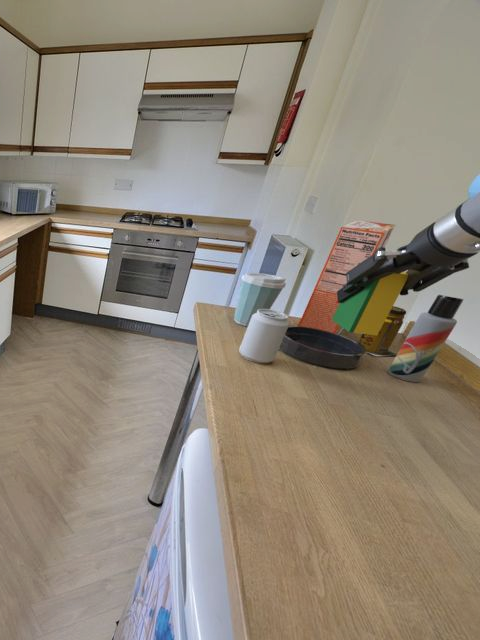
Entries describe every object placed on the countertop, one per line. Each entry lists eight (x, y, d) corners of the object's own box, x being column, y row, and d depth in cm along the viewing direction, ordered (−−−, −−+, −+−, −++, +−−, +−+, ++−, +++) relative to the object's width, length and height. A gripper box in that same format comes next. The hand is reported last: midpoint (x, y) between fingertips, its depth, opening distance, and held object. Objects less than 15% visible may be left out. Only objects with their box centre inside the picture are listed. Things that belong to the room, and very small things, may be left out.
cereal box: (313, 317, 129) (357, 220, 116) (345, 326, 124) (395, 225, 111) (293, 335, 115) (341, 226, 102) (329, 345, 110) (384, 232, 97)
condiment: (347, 344, 111) (368, 303, 106) (372, 343, 113) (394, 302, 107) (375, 357, 105) (398, 313, 99) (401, 356, 106) (426, 313, 101)
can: (230, 353, 103) (247, 308, 97) (250, 349, 106) (267, 305, 100) (259, 367, 97) (279, 320, 91) (280, 362, 99) (299, 316, 94)
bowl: (377, 372, 97) (385, 357, 95) (306, 368, 97) (313, 353, 95) (321, 340, 113) (328, 327, 111) (260, 337, 112) (265, 324, 111)
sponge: (357, 323, 90) (386, 265, 84) (377, 335, 84) (409, 274, 78) (331, 320, 91) (358, 262, 85) (348, 332, 85) (379, 271, 79)
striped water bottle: (387, 375, 96) (433, 295, 87) (387, 367, 100) (431, 289, 91) (421, 385, 92) (473, 302, 84) (419, 376, 96) (469, 296, 87)
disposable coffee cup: (218, 318, 124) (235, 270, 118) (241, 314, 128) (258, 268, 122) (252, 332, 115) (272, 281, 109) (276, 328, 120) (296, 278, 113)
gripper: (394, 249, 68) (307, 308, 89) (532, 261, 64) (406, 320, 85) (390, 212, 70) (306, 278, 91) (522, 221, 66) (402, 288, 88)
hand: (354, 298), depth 88 cm, fingers closed on sponge, 5 cm apart
